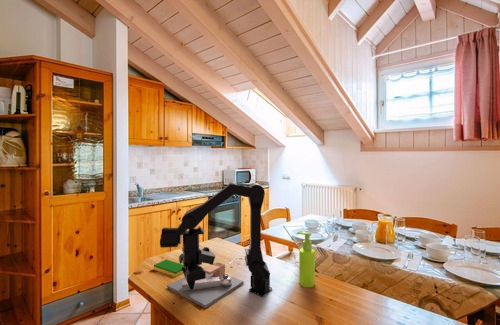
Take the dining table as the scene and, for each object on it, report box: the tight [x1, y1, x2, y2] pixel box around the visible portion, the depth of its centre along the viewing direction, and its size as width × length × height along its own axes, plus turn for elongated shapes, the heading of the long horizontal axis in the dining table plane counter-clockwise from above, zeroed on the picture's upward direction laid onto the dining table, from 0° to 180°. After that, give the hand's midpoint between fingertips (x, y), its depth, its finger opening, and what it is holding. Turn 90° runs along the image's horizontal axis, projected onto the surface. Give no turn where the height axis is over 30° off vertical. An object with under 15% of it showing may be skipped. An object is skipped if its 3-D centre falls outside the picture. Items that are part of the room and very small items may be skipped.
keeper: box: [204, 261, 226, 277], centre depth 104 cm, size 4×8×4 cm, turn 143°
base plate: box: [166, 266, 244, 309], centre depth 100 cm, size 21×20×1 cm
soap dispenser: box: [296, 230, 316, 288], centre depth 101 cm, size 6×7×20 cm
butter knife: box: [228, 253, 243, 265], centre depth 118 cm, size 1×27×3 cm
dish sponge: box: [153, 259, 184, 278], centre depth 113 cm, size 7×14×2 cm, turn 58°
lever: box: [182, 273, 233, 291], centre depth 97 cm, size 18×5×3 cm, turn 103°
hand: (191, 288), depth 94 cm, fingers closed
